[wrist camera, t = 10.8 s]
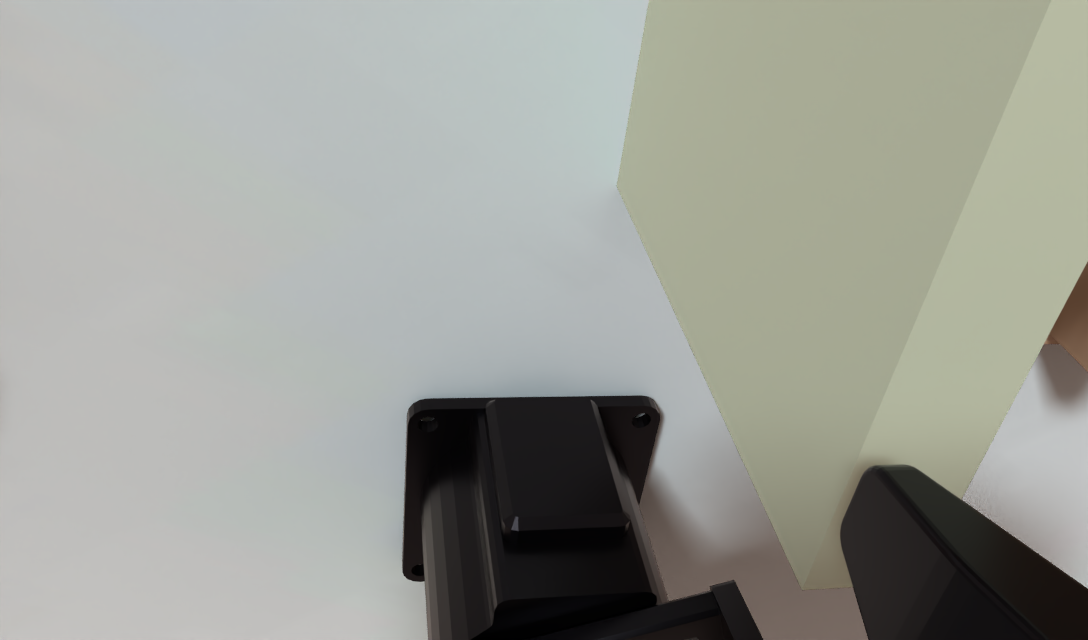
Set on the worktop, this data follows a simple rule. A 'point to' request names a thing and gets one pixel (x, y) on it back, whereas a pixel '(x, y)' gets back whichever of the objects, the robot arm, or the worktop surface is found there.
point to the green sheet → (860, 228)
